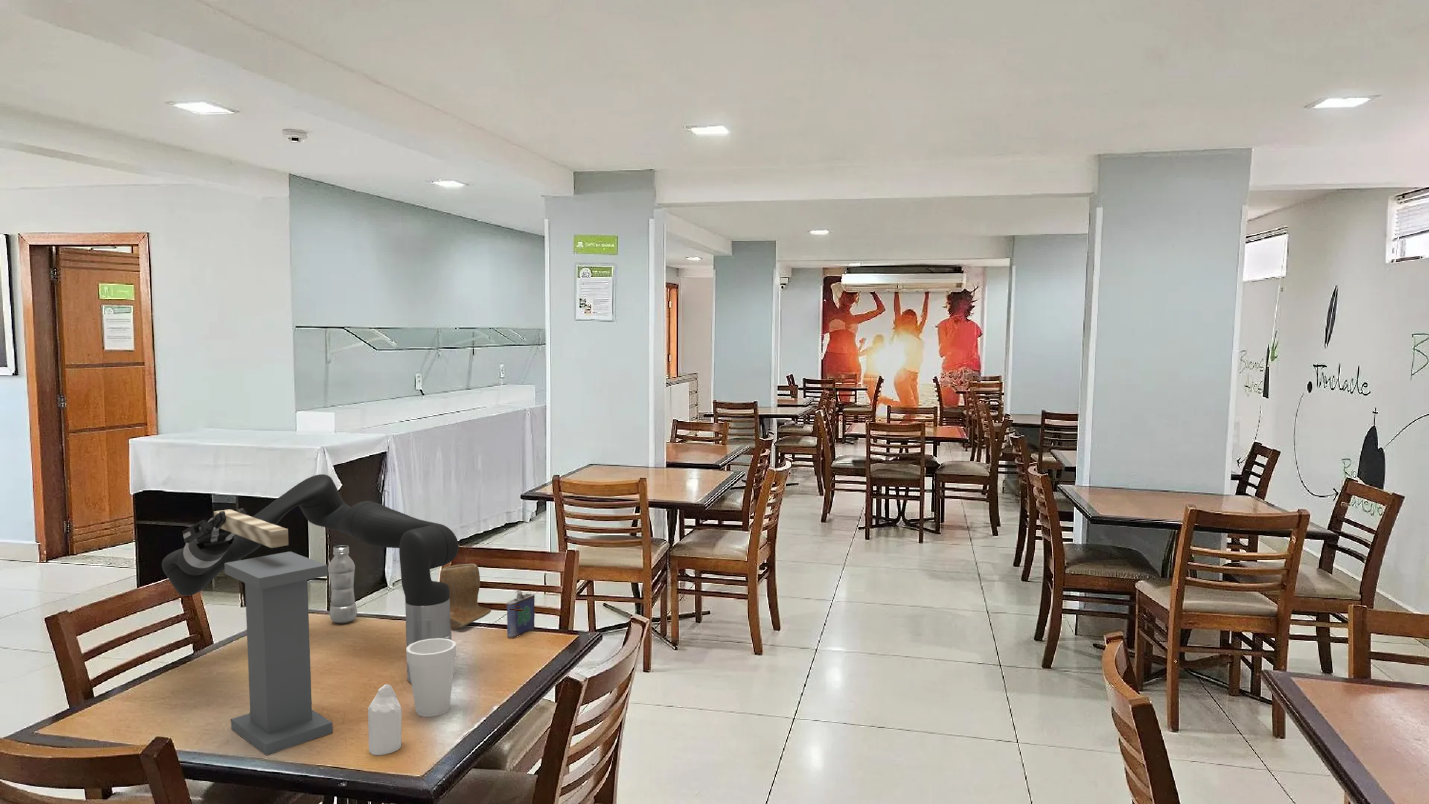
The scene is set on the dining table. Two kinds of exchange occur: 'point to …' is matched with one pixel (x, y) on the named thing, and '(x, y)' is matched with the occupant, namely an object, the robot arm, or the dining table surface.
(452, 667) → the foam cup
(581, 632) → the dining table surface
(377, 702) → the white pointed cylinder
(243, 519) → the light wooden bar
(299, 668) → the stand
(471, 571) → the brown curved chair
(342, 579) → the plastic bottle
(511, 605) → the flask
